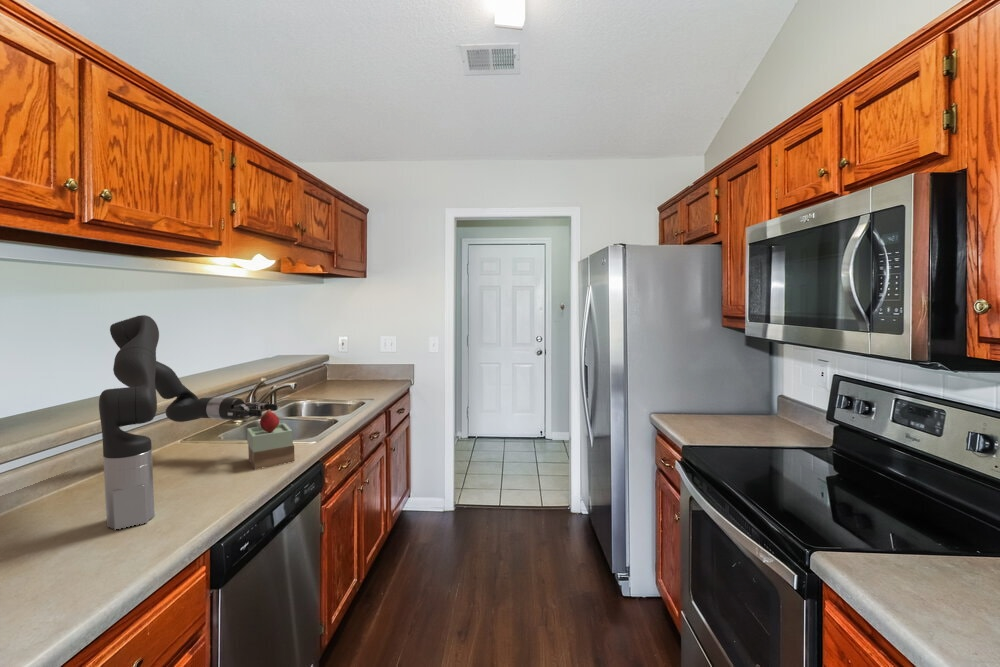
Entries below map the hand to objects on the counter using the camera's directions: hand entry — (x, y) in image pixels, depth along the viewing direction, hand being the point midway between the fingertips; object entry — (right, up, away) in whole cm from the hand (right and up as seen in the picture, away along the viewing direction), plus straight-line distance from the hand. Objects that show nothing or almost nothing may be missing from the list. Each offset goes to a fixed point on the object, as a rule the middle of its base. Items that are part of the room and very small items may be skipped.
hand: (269, 410), depth 154 cm
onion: (0, -8, 0) cm, 8 cm away
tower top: (0, -12, 0) cm, 12 cm away
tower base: (0, -18, +1) cm, 18 cm away
